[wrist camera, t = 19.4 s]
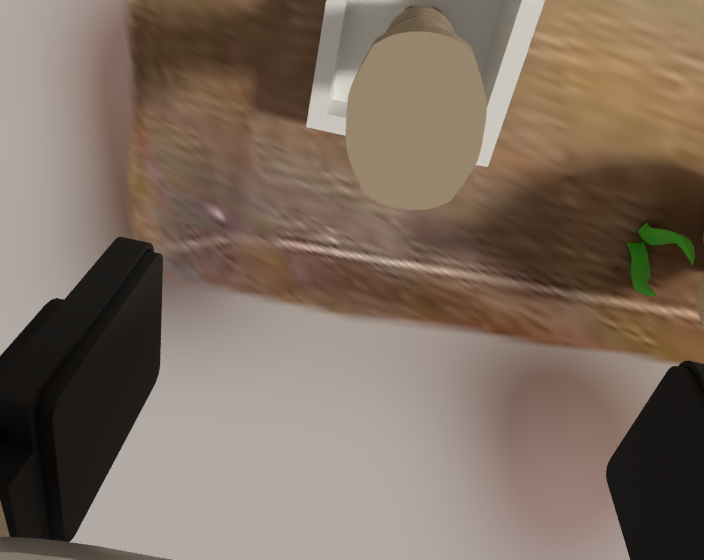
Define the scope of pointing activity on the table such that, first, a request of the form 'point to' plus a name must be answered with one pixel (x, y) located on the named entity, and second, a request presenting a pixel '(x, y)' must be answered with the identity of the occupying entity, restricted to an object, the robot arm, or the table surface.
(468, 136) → the handle
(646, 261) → the cream toy figurine
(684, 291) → the table surface
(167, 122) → the table surface
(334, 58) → the white square bin
